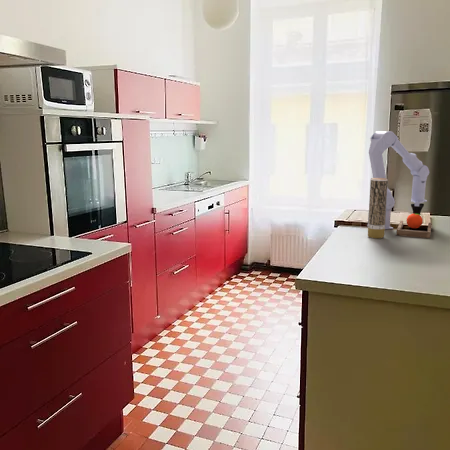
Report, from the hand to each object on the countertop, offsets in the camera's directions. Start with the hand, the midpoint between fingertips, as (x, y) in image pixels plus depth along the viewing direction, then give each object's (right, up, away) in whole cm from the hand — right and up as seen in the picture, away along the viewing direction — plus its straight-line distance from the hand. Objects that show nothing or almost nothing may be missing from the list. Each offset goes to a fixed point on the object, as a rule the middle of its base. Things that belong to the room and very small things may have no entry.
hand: (416, 219), depth 223 cm
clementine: (-3, -5, -6) cm, 8 cm away
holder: (-6, -6, -12) cm, 15 cm away
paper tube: (-26, -8, -21) cm, 34 cm away
